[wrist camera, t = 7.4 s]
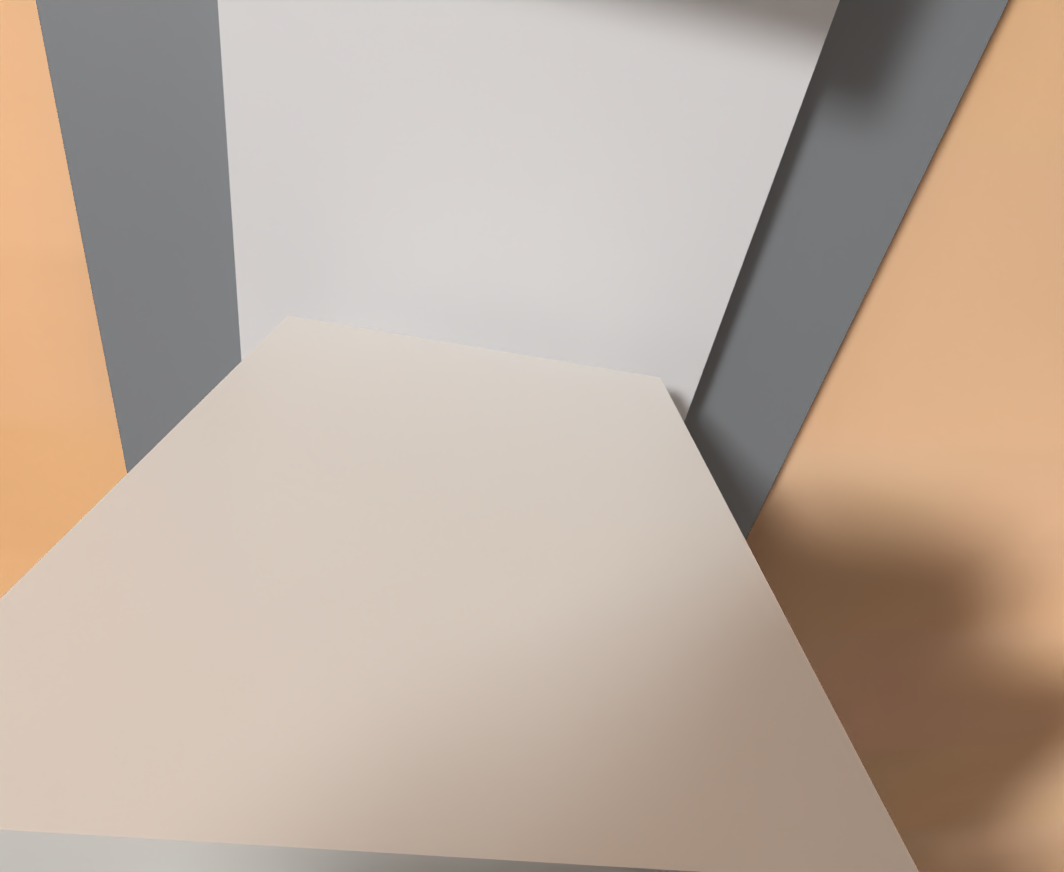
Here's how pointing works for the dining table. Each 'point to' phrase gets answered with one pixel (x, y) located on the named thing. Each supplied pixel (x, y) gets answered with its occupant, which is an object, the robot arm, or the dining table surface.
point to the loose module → (419, 640)
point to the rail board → (504, 186)
